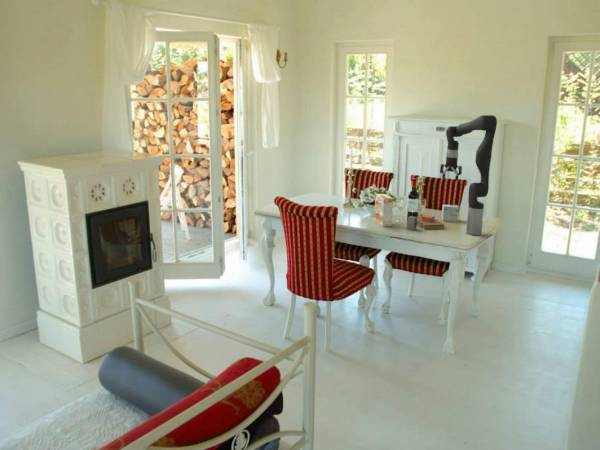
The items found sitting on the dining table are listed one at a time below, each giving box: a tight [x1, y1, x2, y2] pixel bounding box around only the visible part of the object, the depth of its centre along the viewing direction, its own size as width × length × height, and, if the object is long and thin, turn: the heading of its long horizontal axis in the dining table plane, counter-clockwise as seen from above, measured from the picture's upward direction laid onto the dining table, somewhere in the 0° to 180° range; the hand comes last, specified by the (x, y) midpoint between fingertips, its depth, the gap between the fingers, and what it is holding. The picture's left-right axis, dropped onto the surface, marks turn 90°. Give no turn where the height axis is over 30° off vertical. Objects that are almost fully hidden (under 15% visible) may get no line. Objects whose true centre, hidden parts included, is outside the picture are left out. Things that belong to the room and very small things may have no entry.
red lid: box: [421, 214, 435, 222], centre depth 387 cm, size 6×6×3 cm
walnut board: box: [416, 216, 445, 230], centre depth 387 cm, size 22×14×3 cm, turn 10°
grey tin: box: [406, 215, 418, 231], centre depth 375 cm, size 5×5×8 cm
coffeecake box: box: [373, 193, 394, 228], centre depth 386 cm, size 15×7×20 cm, turn 14°
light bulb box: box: [441, 204, 460, 223], centre depth 401 cm, size 11×7×11 cm, turn 84°
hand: (450, 180), depth 386 cm, fingers open, 8 cm apart
